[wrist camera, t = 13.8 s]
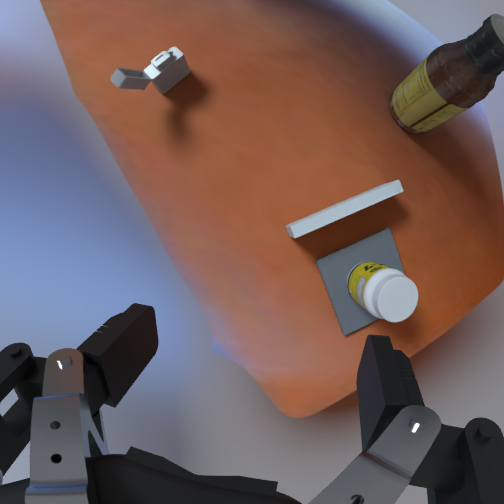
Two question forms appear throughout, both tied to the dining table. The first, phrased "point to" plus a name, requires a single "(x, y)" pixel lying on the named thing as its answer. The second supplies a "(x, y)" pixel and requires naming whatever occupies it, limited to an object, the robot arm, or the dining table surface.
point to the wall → (343, 209)
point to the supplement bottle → (382, 291)
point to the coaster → (339, 267)
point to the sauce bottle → (451, 79)
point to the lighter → (155, 72)
